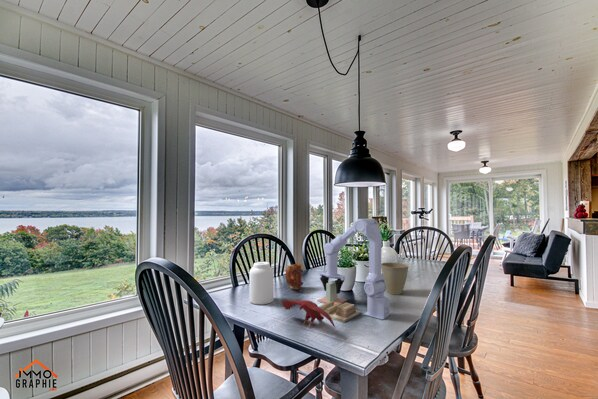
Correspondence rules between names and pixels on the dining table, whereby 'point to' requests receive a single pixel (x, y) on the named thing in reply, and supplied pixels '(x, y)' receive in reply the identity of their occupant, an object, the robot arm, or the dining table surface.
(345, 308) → the offcut pile
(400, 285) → the plant pot
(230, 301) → the dining table surface
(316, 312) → the red animal figurine
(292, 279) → the orange-brown rough oval lump
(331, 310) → the wooden blocks on board
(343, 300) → the mat
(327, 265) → the robot arm
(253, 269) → the white jar
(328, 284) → the pale green block
